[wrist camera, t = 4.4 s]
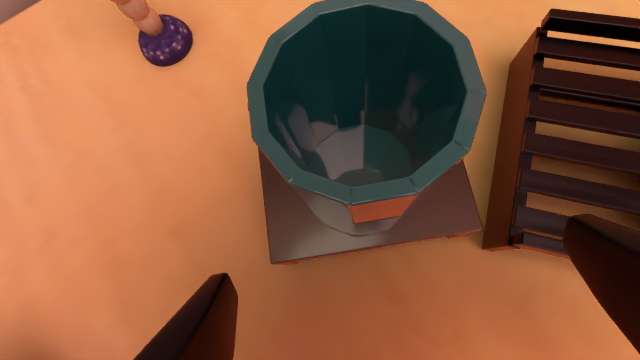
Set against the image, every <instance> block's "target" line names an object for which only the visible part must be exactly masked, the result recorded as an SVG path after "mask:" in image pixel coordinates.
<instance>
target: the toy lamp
mask: <svg viewBox="0 0 640 360" xmlns="http://www.w3.org/2000/svg"><path fill="white" fill-rule="evenodd" d="M111 1H113V2H115V3H116V4H117V6H118V7H119V9H120V10H121V11H122V12H123V13H124V14H125V15H126V16H127V17H129V18H131V19H133V21H134V23H135V25H136V26H137V27H138V28H139V29H140V32H139V38H138V42H139V46H140V49H141V51H142V53H143V55H144V56H145V58H146V59H147V60H148V61H149V62H150V63H153V64H154V65H157V66H168V65H172V64H174V63H176V62H178V61H180V60H181V59H182V58H183V57H184V56H185V55H186V54H187V53H188V51H189V50H190V48H191V45H192V34H191V31H190V29H189V27H188V26H187V25H186V24H185V23H184V22H183V21H181V20H180V19H178V18H176V17H174V16H170V15H165V14H162V15H158V14H157V13H156V12H155V11H154V10H153V9H152V8H150V7H148V4H147V2H146V1H145V0H111Z"/></svg>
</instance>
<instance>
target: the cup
mask: <svg viewBox="0 0 640 360" xmlns="http://www.w3.org/2000/svg"><path fill="white" fill-rule="evenodd" d="M247 95H248V105H249V115H250V124H251V134H252V138H253V141H254V142H255V143H256V145H257V146H258V147H259V148H260V149H261V151H262V152H263V153H264V154H265V156H266V157H267V158H268V159H269V161H270V162H271V163H272V164H273V166H274V167H275V168H276V169H277V171H278V172H279V173H280V174H281V175H282V177H283V178H284V179H285V180H286V182H287V183H288V184H289V185H290V186H291V187H292V189H293V190H294V191H295V192H296V193H297V194H298V195H299V197H300V198H301V199H302V200H303V201H304V202H305V203H306V204H307V206H308V207H309V208H310V209H311V210H312V211H313V212H314V214H315V215H316V216H317V217H318V218H319V219H320V220H321V222H322V223H324V224H325V225H328V226H331V227H332V228H335V229H337V230H339V231H342V232H345V233H349V234H352V235H366V234H373V233H378V232H381V231H386V230H389V229H391V228H392V227H393V226H395V225H396V224H397V223H398V222H400V221H401V220H402V219H403V218H404V217H405V216H406V215H408V214H409V213H410V212H411V211H412V210H414V209H415V208H416V207H417V206H418V205H419V203H420V202H421V201H422V200H423V199H424V198H425V197H426V196H427V195H428V194H429V193H430V192H431V191H432V190H433V189H434V188H435V187H436V186H437V185H438V184H439V183H440V182H441V181H442V180H443V178H444V177H445V176H446V175H447V174H448V173H449V172H450V171H451V170H452V169H453V168H454V167H455V166H456V165H457V164H458V163H459V162H460V161H461V160H462V159H463V158H464V157H465V156H466V155H467V154H468V152H469V150H470V149H471V145H472V142H473V139H474V135H475V132H476V129H477V125H478V122H479V119H480V115H481V112H482V108H483V105H484V102H485V98H486V88H485V85H484V82H483V79H482V76H481V73H480V70H479V67H478V64H477V61H476V58H475V55H474V52H473V49H472V47H471V44H470V41H469V39H468V38H467V36H465V35H464V34H463V33H462V32H460V31H459V30H458V29H457V28H456V27H454V26H453V25H452V24H451V23H449V22H448V21H447V20H446V19H445V18H443V17H442V16H441V15H440V14H438V13H437V12H436V11H435V10H434V9H432V8H431V7H430V6H429V5H427V4H426V3H424V2H421V1H416V0H324V1H320V2H315V3H314V4H311V5H310V6H309V7H307V8H306V9H305V10H303V11H302V12H301V13H299V14H298V15H297V16H296V17H294V18H293V19H292V20H290V21H289V22H288V23H286V24H285V25H284V26H282V27H281V28H280V29H279V30H277V31H276V32H275V33H273V34H272V35H271V36H270V37H269V38H268V41H267V43H266V45H265V47H264V49H263V51H262V53H261V55H260V57H259V60H258V62H257V64H256V66H255V68H254V70H253V72H252V74H251V76H250V79H249V81H248V83H247Z"/></svg>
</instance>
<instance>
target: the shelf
mask: <svg viewBox="0 0 640 360" xmlns="http://www.w3.org/2000/svg"><path fill="white" fill-rule="evenodd" d="M248 111H249V105H248ZM258 150H259V160H260V169H261V178H262V187H263V197H264V206H265V215H266V224H267V234H268V243H269V252H270V261H271V264H275V265H288V264H294V263H298V261H300V260H306V259H312V258H318V257H324V256H330V255H336V254H343V253H349V252H355V251H361V250H367V249H373V248H379V247H385V246H391V245H397V244H404V243H410V242H416V241H422V240H428V239H434V238H440V237H446V236H448V238H454V237H460V236H463V235H467V234H470V233H474V232H477V231H480V230H483V227H482V224H481V220H480V217H479V213H478V210H477V206H476V203H475V200H474V196H473V193H472V189H471V186H470V183H469V179H468V176H467V172H466V169H465V166H464V162H463V159H462V160H461V161H460V162H459V163H458V164H457V165H456V166H455V167H454V168H453V169H452V170H451V171H450V172H449V173H448V174H447V175H446V176H445V177H444V178H443V180H442V181H441V182H440V183H439V184H438V185H437V186H436V187H435V188H434V189H433V190H432V191H431V192H430V193H429V194H428V195H427V196H426V197H425V198H424V199H423V200H422V201H421V202H420V203H419V205H418V206H417V207H416V208H415V209H414V210H412V211H411V212H410V213H409V214H408V215H406V216H405V217H404V218H403V219H402V220H401V221H400V222H398V223H397V224H396V225H395V226H393V227H392V228H391V229H389V230H386V231H381V232H378V233H373V234H366V235H352V234H349V233H345V232H342V231H339V230H337V229H335V228H332V227H331V226H328V225H325V224H324V223H322V222H321V220H320V219H319V218H318V217H317V216H316V215H315V214H314V212H313V211H312V210H311V209H310V208H309V207H308V206H307V204H306V203H305V202H304V201H303V200H302V199H301V198H300V197H299V195H298V194H297V193H296V192H295V191H294V190H293V189H292V187H291V186H290V185H289V184H288V183H287V182H286V180H285V179H284V178H283V177H282V175H281V174H280V173H279V172H278V171H277V169H276V168H275V167H274V166H273V164H272V163H271V162H270V161H269V159H268V158H267V157H266V156H265V154H264V153H263V152H262V151H261V149H260V148H259V147H258Z"/></svg>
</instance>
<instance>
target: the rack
mask: <svg viewBox="0 0 640 360" xmlns="http://www.w3.org/2000/svg"><path fill="white" fill-rule="evenodd" d="M548 31H556V32H564V33H572V34H579V35H587V36H595V37H603V38H611V39H618V40H626V41H634V42H640V19H637V18H629V17H620V16H612V15H603V14H594V13H586V12H577V11H569V10H560V9H550V11H549V12H548V14H547V15H546V16H545V18H544V19H543V20H542V23H541V27H537V28H536V30H535V31H534V32H533V34H532V35H531V36H530V38H529V39H528V40H527V42H526V43H525V44H524V46H523V47H522V48H521V50H520V51H519V52H518V54H517V55H516V56H515V58H514V59H513V60H512V62H511V63H510V67H509V74H508V80H507V87H506V94H505V100H504V107H503V113H502V120H501V127H500V133H499V140H498V146H497V153H496V160H495V166H494V173H493V179H492V186H491V193H490V199H489V206H488V212H487V219H486V226H485V232H484V239H483V245H482V249H483V250H487V251H491V252H493V251H503V250H512V249H520V248H525V249H529V250H533V251H538V252H542V253H546V254H550V255H554V256H558V257H562V258H566V259H570V258H569V256H568V255H567V253H566V252H565V250H564V248H563V244H562V241H561V240H557V239H553V238H549V237H544V236H540V235H536V234H531V233H527V232H523V230H525V231H530V232H534V233H538V234H542V235H547V236H551V237H555V238H559V239H563V235H564V230H565V226H566V222H567V219H568V218H569V217H570V216H566V215H561V214H557V213H552V212H547V211H543V210H538V209H534V208H529V207H526V200H527V192H531V193H536V194H541V195H545V196H550V197H555V198H559V199H564V200H569V201H573V202H578V203H583V204H587V205H592V206H597V207H601V208H606V209H611V210H615V211H620V212H625V213H629V214H634V215H639V216H640V191H635V190H630V189H625V188H620V187H615V186H610V185H605V184H600V183H595V182H590V181H586V180H581V179H576V178H571V177H566V176H561V175H556V174H551V173H546V172H541V171H536V170H531V169H530V168H531V160H532V156H537V157H542V158H547V159H553V160H558V161H563V162H568V163H573V164H578V165H583V166H589V167H594V168H599V169H604V170H609V171H614V172H619V173H624V174H630V175H635V176H640V153H638V152H633V151H627V150H622V149H616V148H611V147H605V146H600V145H594V144H589V143H583V142H578V141H573V140H567V139H562V138H556V137H551V136H545V135H540V134H535V128H536V121H538V122H544V123H549V124H555V125H561V126H566V127H572V128H578V129H583V130H589V131H595V132H600V133H606V134H612V135H617V136H623V137H629V138H634V139H640V116H635V115H629V114H623V113H617V112H611V111H605V110H599V109H593V108H587V107H581V106H575V105H568V104H562V103H556V102H550V101H544V100H539V96H542V97H548V98H554V99H560V100H566V101H572V102H578V103H585V104H591V105H597V106H603V107H609V108H615V109H621V110H627V111H634V112H640V82H638V81H632V80H625V79H618V78H611V77H605V76H598V75H591V74H584V73H578V72H571V71H564V70H557V69H551V68H544V67H543V64H544V58H551V59H558V60H565V61H572V62H579V63H586V64H593V65H600V66H607V67H614V68H621V69H628V70H635V71H640V49H637V48H629V47H621V46H614V45H606V44H599V43H591V42H583V41H576V40H568V39H561V38H553V37H547V32H548ZM570 260H571V259H570Z"/></svg>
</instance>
